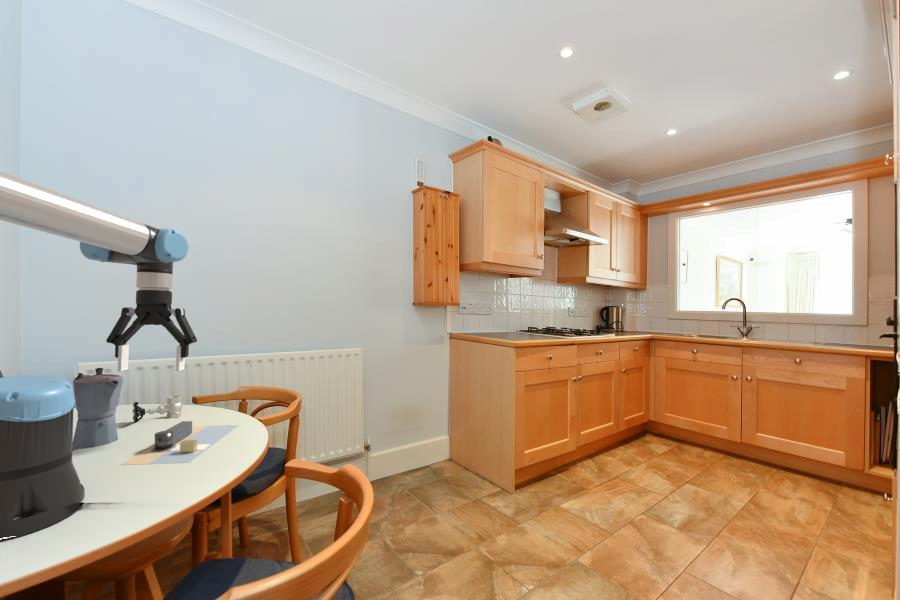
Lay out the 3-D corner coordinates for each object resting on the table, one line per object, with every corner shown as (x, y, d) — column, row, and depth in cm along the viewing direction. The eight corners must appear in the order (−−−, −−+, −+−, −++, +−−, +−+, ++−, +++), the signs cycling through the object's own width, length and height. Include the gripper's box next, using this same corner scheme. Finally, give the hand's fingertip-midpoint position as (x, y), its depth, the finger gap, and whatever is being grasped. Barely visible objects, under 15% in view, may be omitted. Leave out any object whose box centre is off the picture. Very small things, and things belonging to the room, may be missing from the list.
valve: (179, 414, 124) (132, 421, 116) (180, 393, 124) (132, 400, 116) (184, 418, 120) (134, 427, 111) (184, 397, 120) (135, 404, 111)
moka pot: (96, 457, 90) (98, 372, 90) (46, 451, 93) (48, 369, 93) (137, 442, 99) (138, 366, 99) (90, 437, 102) (92, 363, 102)
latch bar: (167, 449, 91) (167, 435, 91) (150, 450, 90) (151, 435, 90) (194, 432, 102) (194, 420, 102) (179, 433, 102) (180, 420, 102)
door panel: (189, 467, 85) (189, 461, 85) (120, 470, 83) (120, 463, 83) (239, 429, 110) (239, 424, 110) (187, 430, 109) (187, 425, 109)
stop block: (193, 452, 90) (193, 442, 90) (179, 453, 90) (180, 442, 90) (197, 450, 92) (197, 439, 92) (183, 450, 91) (184, 440, 91)
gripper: (212, 291, 106) (210, 367, 105) (112, 289, 102) (109, 368, 102) (198, 290, 98) (196, 372, 98) (90, 287, 95) (86, 373, 94)
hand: (151, 370), depth 100 cm, fingers open, 13 cm apart
